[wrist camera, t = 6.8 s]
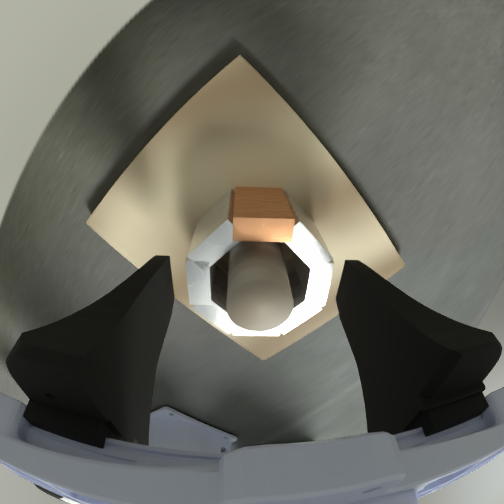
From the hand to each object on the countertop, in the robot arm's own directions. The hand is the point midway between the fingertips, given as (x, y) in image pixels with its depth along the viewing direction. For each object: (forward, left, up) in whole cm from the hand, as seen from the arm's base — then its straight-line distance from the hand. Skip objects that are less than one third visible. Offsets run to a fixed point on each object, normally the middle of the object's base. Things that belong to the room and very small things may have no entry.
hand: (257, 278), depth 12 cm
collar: (0, 0, -3) cm, 3 cm away
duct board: (0, 0, -4) cm, 4 cm away
